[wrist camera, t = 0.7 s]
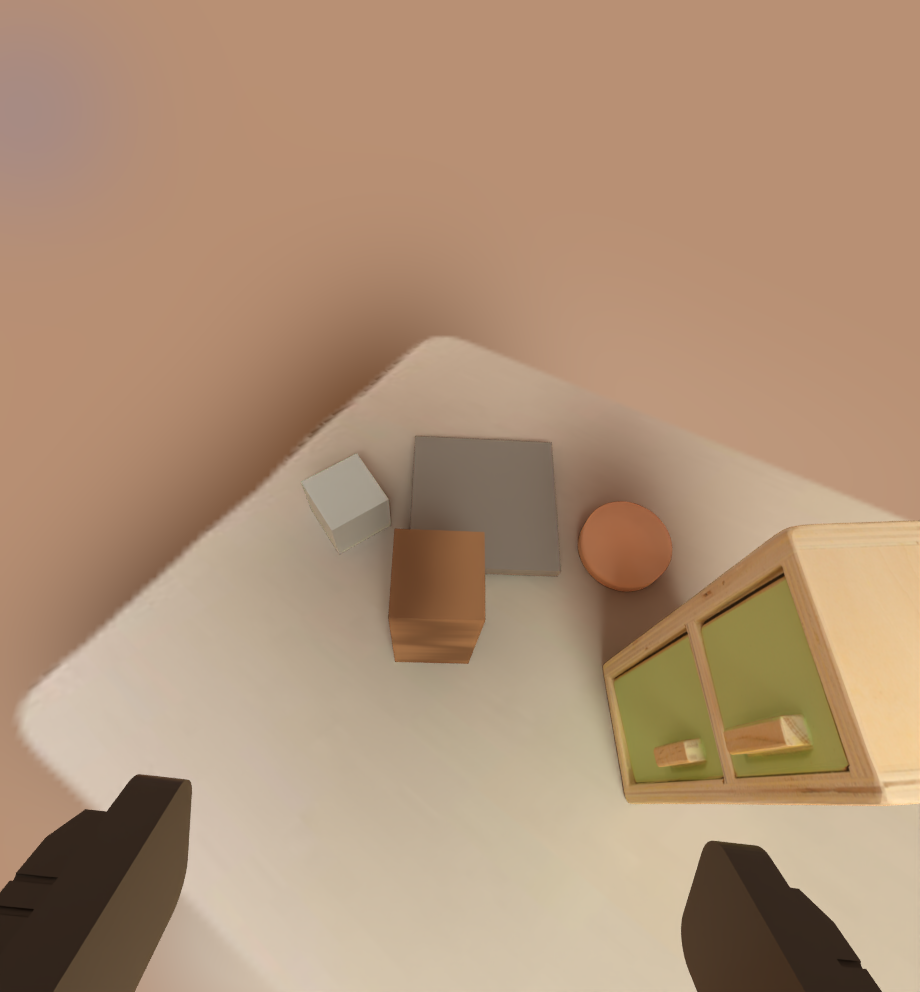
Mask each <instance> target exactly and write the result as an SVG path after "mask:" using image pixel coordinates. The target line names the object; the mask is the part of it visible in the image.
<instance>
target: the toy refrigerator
mask: <svg viewBox="0 0 920 992" xmlns="http://www.w3.org/2000/svg"><path fill="white" fill-rule="evenodd" d="M603 672H604V679H605V684H606V690H607V696H608V701H609V707H610V713H611V719H612V724H613V730H614V736H615V741H616V747H617V752H618V758H619V764H620V769H621V775H622V781H623V787H624V792H625V798H626V800H627V802H628V803H630V804H761V805H852V806H890V805H907V804H920V520H918V521H889V522H862V523H833V524H811V525H800V526H794V527H789V528H786V529H784V530H782V531H781V532H779V533H777V534H776V535H774V536H773V537H772V538H770V539H769V540H768V541H766V542H765V543H764V544H762V545H761V546H759V547H758V548H757V549H756V550H754V551H753V552H752V553H750V554H749V555H748V556H746V557H745V558H744V559H742V560H741V561H740V562H739V563H737V564H736V565H735V566H733V567H732V568H731V569H729V570H728V571H726V572H725V573H724V574H722V575H721V576H720V577H718V578H717V579H716V580H715V581H713V582H712V583H711V584H710V585H708V586H707V587H706V588H704V589H703V590H702V591H700V592H699V593H698V594H696V595H695V596H694V597H693V598H691V599H690V600H689V601H687V602H686V603H684V604H683V605H682V606H680V607H679V608H678V609H676V610H675V611H674V612H672V613H671V614H670V615H668V616H667V617H666V618H664V619H663V620H661V621H660V622H659V623H657V624H656V625H655V626H653V627H652V628H651V629H650V630H648V631H647V632H646V633H644V634H643V635H641V636H640V637H639V638H637V639H636V640H635V641H633V642H632V643H631V644H629V645H628V646H627V647H625V648H624V649H623V650H622V651H620V652H619V653H618V654H616V655H615V656H614V657H612V658H611V659H610V660H608V661H607V662H606V663H605V664H604V665H603Z"/></svg>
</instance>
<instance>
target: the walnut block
mask: <svg viewBox="0 0 920 992" xmlns="http://www.w3.org/2000/svg"><path fill="white" fill-rule="evenodd" d="M388 619H389V625H390V631H391V638H392V644H393V651H394V657H395V662H424V663H463V664H468V663H469V660H470V658H471V655H472V653H473V650H474V648H475V645H476V643H477V640H478V638H479V635H480V633H481V630H482V628H483V625H484V623H485V532H470V531H444V530H418V529H395V530H394V544H393V558H392V573H391V587H390V601H389V616H388Z"/></svg>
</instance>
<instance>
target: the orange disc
mask: <svg viewBox="0 0 920 992" xmlns="http://www.w3.org/2000/svg"><path fill="white" fill-rule="evenodd" d="M578 551H579V556H580V559H581V561H582V563H583V565H584V567H585V569H586V570H587V571H588V573H589V574H590V575H591V576H592V577H593V578H594V579H595V580H597V581H598V582H599V583H601V584H602V585H604V586H606V587H608V588H611V589H614V590H618V591H627V592H630V591H637V590H641V589H643V588H645V587H647V586H649V585H650V584H651V583H653V582H654V581H655V580H656V579H657V578H658V577H659V576H661V575H662V574H663V573H664V571H665V570H666V569H667V567H668V565H669V563H670V561H671V557H672V543H671V538H670V535H669V533H668V531H667V529H666V527H665V525H664V524H663V523H662V521H661V520H660V519H659V518H658V517H657V516H656V515H655V514H654V513H652V512H651V511H649V510H648V509H646V508H644V507H642V506H640V505H638V504H635V503H631V502H623V501H618V502H611V503H607V504H605V505H602V506H601V507H599V508H598V509H596V510H595V511H594V512H593V513H592V514H591V515H590V517H589V518H588V520H587V521H586V523H585V524H584V526H583V528H582V530H581V532H580V535H579V539H578Z"/></svg>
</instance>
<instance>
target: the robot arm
mask: <svg viewBox="0 0 920 992" xmlns="http://www.w3.org/2000/svg"><path fill="white" fill-rule="evenodd" d="M191 797H192V785H191V782H190V780H186V779H177V778H168V777H159V776H150V775H141V774H138V775H136V776H134V777H133V778H132V779H131V780H130V781H129V782H128V784H127V785H126V786H125V788H124V789H123V790H122V792H121V793H120V795H119V796H118V797H117V799H116V800H115V801H114V803H113V804H112V805H111V807H110V808H109V809H108V811H107V812H105V811H96V810H87V809H85V810H84V811H83V812H81V813H80V814H79V815H77V816H75V817H74V818H73V819H71V820H70V821H68V822H67V823H66V824H64V825H63V826H61V827H60V828H59V829H57V830H56V831H54V832H53V833H51V834H50V835H48V836H47V837H46V838H45V839H44V840H43V842H42V843H41V844H40V845H39V846H38V847H37V849H36V850H35V851H34V852H33V853H32V855H31V856H30V857H29V858H28V859H27V861H26V862H25V863H24V864H23V866H22V867H21V868H20V869H19V870H18V872H17V873H16V876H15V878H14V880H13V881H9V882H8V884H7V885H6V886H5V888H4V889H3V890H2V891H1V892H0V992H135V990H136V988H137V986H138V983H139V981H140V979H141V977H142V975H143V973H144V971H145V969H146V967H147V965H148V963H149V961H150V959H151V957H152V955H153V953H154V951H155V949H156V947H157V945H158V942H159V940H160V938H161V936H162V934H163V932H164V930H165V928H166V926H167V924H168V922H169V920H170V918H171V916H172V914H173V911H174V909H175V907H176V904H177V902H178V899H179V896H180V893H181V890H182V886H183V883H184V879H185V874H186V869H187V861H188V846H189V830H190V813H191ZM681 937H682V946H683V952H684V957H685V960H686V964H687V967H688V970H689V972H690V975H691V977H692V980H693V982H694V985H695V987H696V990H697V992H882V991H881V990H880V988H879V987H878V985H877V984H876V983H875V981H874V980H873V978H872V977H871V975H870V974H869V972H868V971H867V970H866V969H862V967H861V961H860V959H859V958H858V957H857V955H856V954H855V952H854V951H853V949H852V948H851V946H850V945H849V944H848V942H847V941H846V939H845V938H844V936H843V935H842V933H841V932H840V931H839V929H838V928H837V926H836V925H835V923H834V922H833V921H832V920H831V919H830V918H829V917H828V916H827V915H826V914H825V913H823V912H822V911H821V910H820V909H819V908H818V907H817V906H816V905H815V904H814V903H813V902H812V901H811V900H810V899H809V898H808V897H807V896H806V895H805V894H804V893H803V892H801V891H800V890H799V889H796V888H790V887H789V885H788V884H787V882H786V881H785V879H784V878H783V876H782V875H781V873H780V872H779V870H778V869H777V867H776V866H775V864H774V862H773V861H772V859H771V858H770V856H769V855H768V854H767V852H766V851H764V850H763V849H762V848H761V847H759V846H754V845H745V844H737V843H728V842H719V841H709V842H708V843H707V844H706V845H705V846H704V848H703V851H702V854H701V857H700V860H699V863H698V867H697V870H696V873H695V877H694V880H693V883H692V887H691V890H690V893H689V896H688V900H687V903H686V906H685V910H684V913H683V917H682V924H681Z"/></svg>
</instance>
